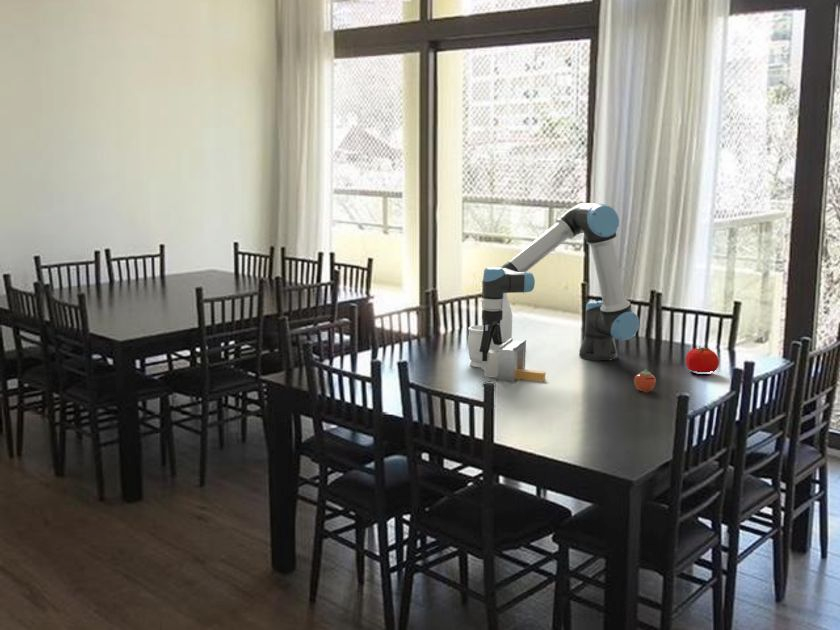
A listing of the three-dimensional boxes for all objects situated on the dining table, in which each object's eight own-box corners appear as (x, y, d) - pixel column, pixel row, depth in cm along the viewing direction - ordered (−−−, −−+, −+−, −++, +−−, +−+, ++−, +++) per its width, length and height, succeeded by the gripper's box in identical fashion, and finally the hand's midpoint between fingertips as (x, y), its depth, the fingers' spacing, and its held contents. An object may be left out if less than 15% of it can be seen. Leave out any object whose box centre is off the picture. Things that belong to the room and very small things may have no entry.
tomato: (692, 368, 340) (694, 342, 338) (723, 374, 331) (725, 348, 329) (677, 373, 332) (679, 346, 331) (708, 379, 324) (710, 352, 322)
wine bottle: (512, 343, 379) (514, 275, 374) (490, 343, 379) (492, 274, 374) (510, 338, 389) (512, 272, 383) (489, 338, 389) (491, 271, 383)
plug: (545, 378, 322) (546, 355, 320) (542, 382, 317) (543, 358, 316) (483, 372, 330) (483, 349, 328) (479, 375, 326) (480, 351, 324)
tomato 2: (642, 394, 303) (643, 372, 301) (629, 389, 309) (630, 367, 308) (659, 392, 306) (661, 370, 304) (646, 387, 312) (647, 365, 311)
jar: (492, 369, 334) (493, 331, 332) (465, 367, 336) (466, 329, 334) (495, 363, 345) (496, 325, 342) (469, 361, 347) (470, 324, 344)
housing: (524, 372, 330) (526, 339, 328) (513, 383, 316) (514, 348, 313) (509, 371, 332) (510, 338, 330) (497, 381, 318) (498, 346, 315)
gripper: (492, 303, 335) (490, 357, 339) (472, 314, 312) (470, 371, 316) (511, 304, 332) (509, 359, 336) (492, 315, 309) (490, 374, 313)
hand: (490, 365), depth 326 cm, fingers open, 13 cm apart
